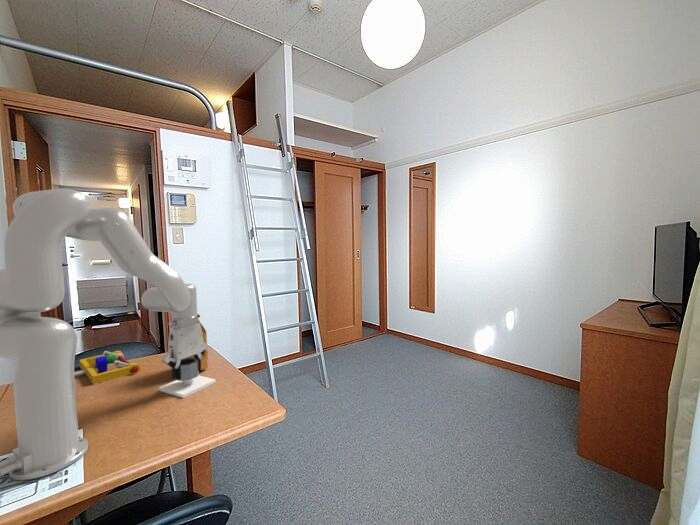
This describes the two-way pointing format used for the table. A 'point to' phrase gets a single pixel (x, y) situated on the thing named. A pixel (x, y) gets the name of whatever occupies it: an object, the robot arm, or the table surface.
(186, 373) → the ring
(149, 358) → the table surface
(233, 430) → the table surface
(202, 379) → the stand
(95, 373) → the yellow toy tray
